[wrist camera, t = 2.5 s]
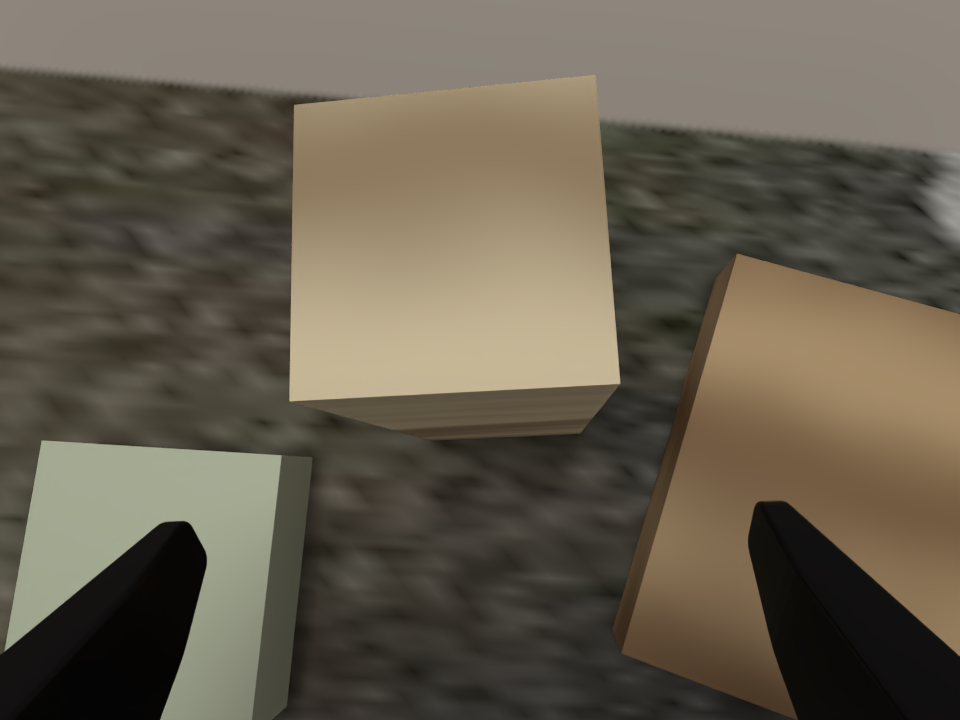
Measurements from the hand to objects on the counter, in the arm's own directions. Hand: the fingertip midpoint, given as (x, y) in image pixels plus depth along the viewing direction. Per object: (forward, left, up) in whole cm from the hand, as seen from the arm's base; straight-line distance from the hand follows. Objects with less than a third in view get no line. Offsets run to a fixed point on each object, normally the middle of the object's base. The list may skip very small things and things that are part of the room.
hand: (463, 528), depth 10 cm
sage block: (-6, +10, -11) cm, 16 cm away
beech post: (+4, +2, -11) cm, 12 cm away
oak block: (+3, -10, -11) cm, 16 cm away
